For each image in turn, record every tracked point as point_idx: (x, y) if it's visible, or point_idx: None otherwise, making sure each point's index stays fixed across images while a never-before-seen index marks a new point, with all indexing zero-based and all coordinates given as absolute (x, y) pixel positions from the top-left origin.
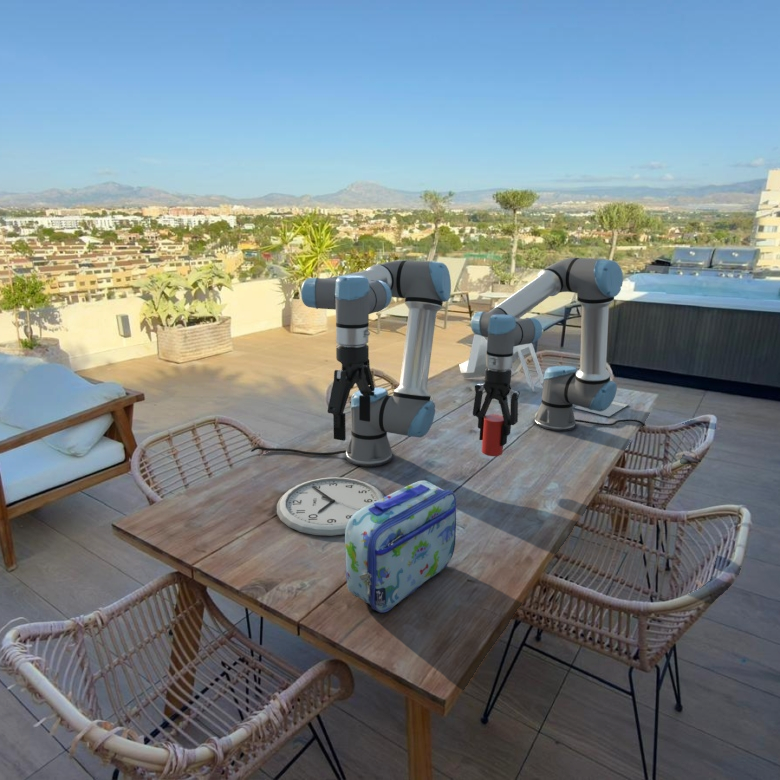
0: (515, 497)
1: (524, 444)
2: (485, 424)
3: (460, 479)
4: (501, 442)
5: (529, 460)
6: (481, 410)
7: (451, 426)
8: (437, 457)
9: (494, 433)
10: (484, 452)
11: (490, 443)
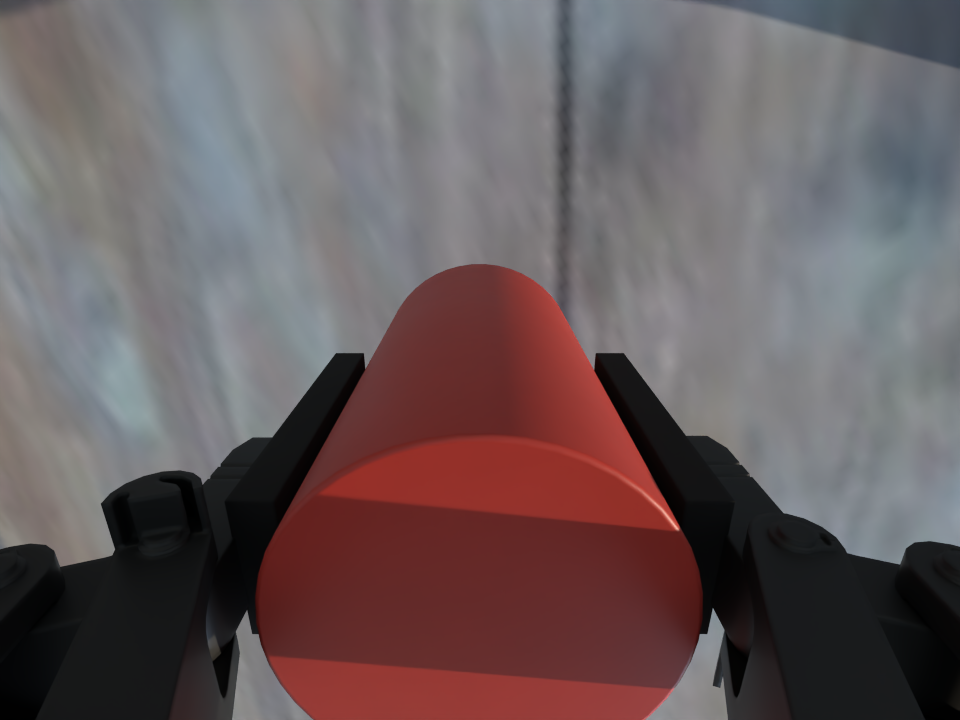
0: (182, 91)
1: None
2: (583, 407)
3: (612, 87)
4: (344, 368)
5: None
6: (881, 701)
7: None
8: (886, 301)
9: (396, 356)
10: (516, 274)
11: (452, 296)
